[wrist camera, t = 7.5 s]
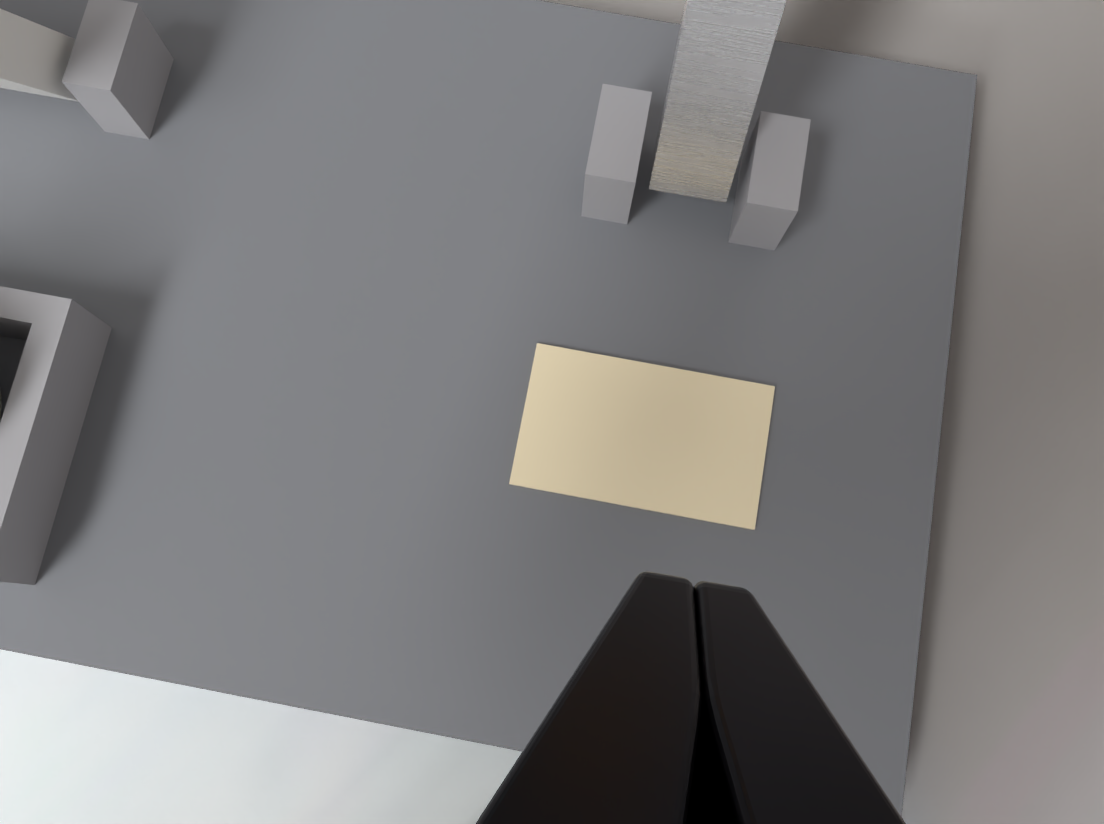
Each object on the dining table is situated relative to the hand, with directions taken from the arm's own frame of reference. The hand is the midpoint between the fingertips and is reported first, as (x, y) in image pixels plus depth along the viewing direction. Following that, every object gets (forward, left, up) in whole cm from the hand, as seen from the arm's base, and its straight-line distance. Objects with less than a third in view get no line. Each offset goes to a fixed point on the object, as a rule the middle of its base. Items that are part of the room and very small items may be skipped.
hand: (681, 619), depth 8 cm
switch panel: (+5, +7, -14) cm, 16 cm away
